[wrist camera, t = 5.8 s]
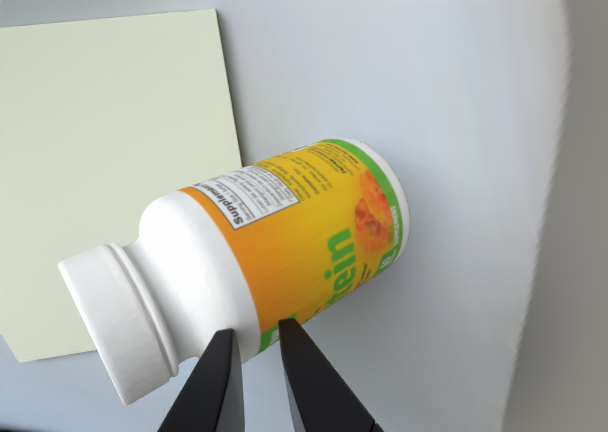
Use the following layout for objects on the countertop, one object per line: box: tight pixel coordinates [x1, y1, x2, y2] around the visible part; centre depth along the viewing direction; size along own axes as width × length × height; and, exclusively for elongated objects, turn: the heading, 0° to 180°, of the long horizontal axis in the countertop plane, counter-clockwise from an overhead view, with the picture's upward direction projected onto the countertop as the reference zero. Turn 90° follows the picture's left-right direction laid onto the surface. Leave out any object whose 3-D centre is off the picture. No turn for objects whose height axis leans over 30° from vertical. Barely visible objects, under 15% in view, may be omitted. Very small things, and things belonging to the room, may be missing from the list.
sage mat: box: [0, 9, 243, 363], centre depth 16 cm, size 12×14×1 cm
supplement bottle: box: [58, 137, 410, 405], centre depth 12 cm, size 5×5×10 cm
